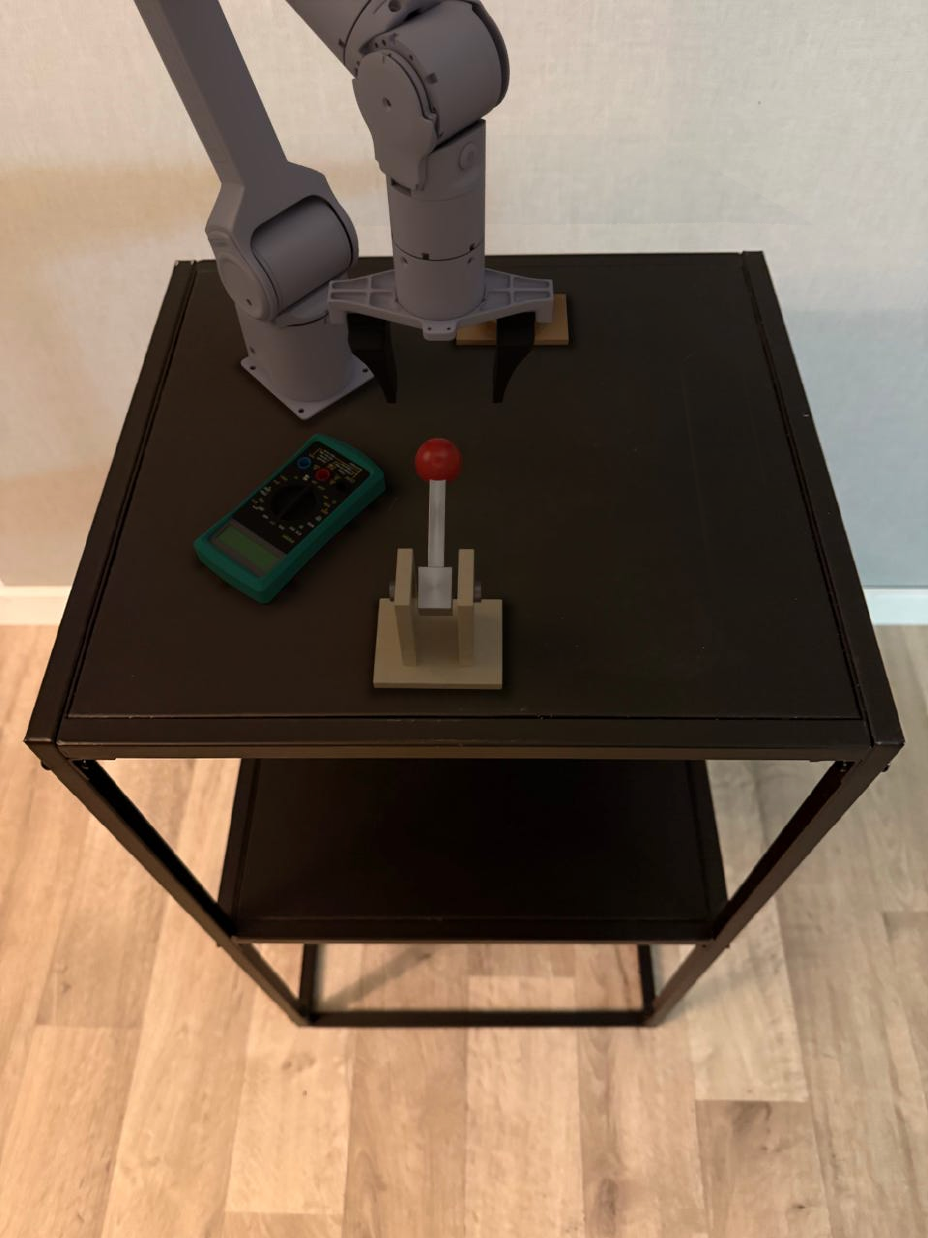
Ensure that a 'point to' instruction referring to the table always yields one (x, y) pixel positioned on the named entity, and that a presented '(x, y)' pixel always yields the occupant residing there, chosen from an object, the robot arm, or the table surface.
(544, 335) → the button block
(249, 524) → the digital multimeter
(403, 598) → the switch bracket
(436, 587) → the switch lever
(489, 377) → the table surface
